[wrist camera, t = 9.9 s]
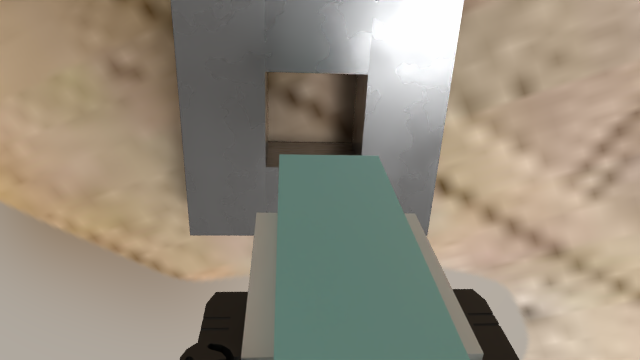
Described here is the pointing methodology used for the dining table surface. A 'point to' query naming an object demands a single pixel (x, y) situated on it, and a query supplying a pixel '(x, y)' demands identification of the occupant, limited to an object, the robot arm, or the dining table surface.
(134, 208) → the dining table surface
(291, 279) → the peg
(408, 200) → the port
